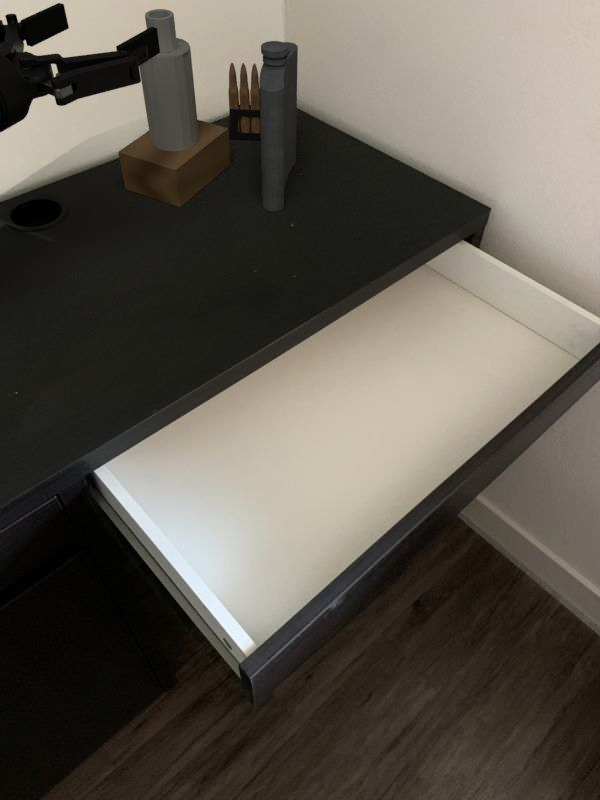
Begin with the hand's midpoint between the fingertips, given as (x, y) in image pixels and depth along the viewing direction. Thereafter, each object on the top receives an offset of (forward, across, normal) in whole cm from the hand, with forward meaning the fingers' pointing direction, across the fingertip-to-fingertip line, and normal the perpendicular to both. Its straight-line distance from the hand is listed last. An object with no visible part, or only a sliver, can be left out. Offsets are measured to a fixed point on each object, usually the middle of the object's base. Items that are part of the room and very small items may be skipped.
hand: (109, 27), depth 79 cm
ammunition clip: (+27, +5, -25) cm, 37 cm away
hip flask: (+16, +14, -24) cm, 32 cm away
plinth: (+10, 0, -24) cm, 26 cm away
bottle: (+10, 0, -18) cm, 21 cm away
